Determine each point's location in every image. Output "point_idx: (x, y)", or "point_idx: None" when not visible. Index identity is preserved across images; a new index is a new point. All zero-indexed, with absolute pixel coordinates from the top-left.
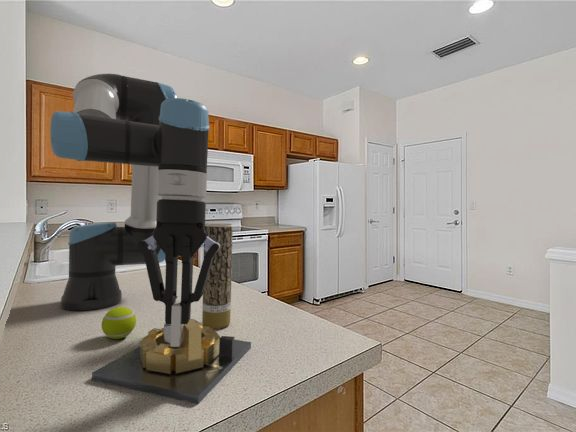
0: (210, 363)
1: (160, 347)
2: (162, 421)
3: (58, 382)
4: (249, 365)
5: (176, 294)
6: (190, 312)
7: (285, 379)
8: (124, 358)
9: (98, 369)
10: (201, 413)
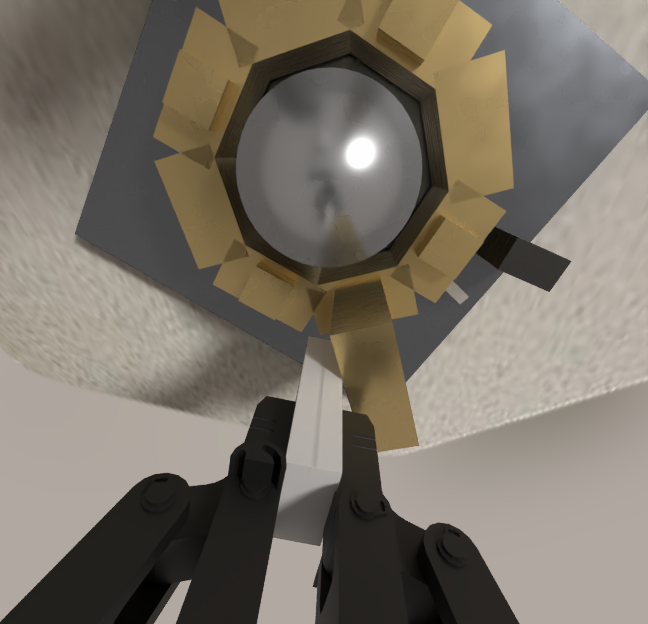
0: None
1: (258, 303)
2: None
3: (5, 220)
4: (564, 253)
5: (276, 513)
6: (376, 450)
7: (628, 356)
8: (132, 146)
9: (83, 216)
10: None
